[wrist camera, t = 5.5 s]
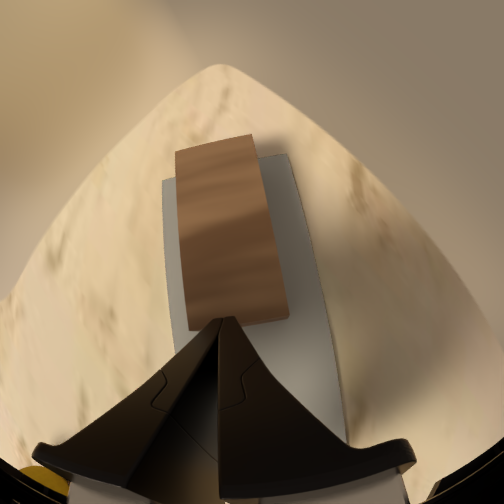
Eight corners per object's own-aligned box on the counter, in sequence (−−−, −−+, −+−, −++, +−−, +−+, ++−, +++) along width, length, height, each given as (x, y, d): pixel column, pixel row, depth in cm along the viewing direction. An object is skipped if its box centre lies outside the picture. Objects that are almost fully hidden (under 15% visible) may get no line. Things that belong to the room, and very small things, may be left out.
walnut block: (289, 314, 13) (251, 134, 16) (188, 331, 13) (175, 151, 16) (287, 319, 16) (257, 168, 20) (209, 331, 17) (192, 182, 20)
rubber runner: (347, 461, 13) (348, 463, 13) (204, 479, 14) (203, 480, 13) (286, 155, 20) (286, 153, 20) (163, 182, 21) (162, 180, 20)
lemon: (42, 468, 14) (-8, 484, 6) (56, 450, 15) (-2, 468, 7) (76, 507, 12) (31, 533, 5) (95, 494, 13) (43, 525, 6)
